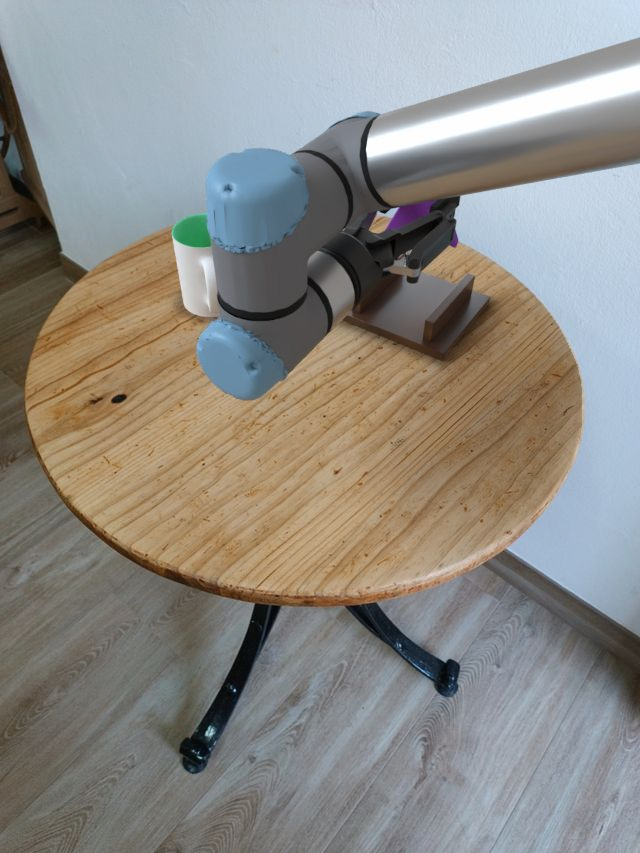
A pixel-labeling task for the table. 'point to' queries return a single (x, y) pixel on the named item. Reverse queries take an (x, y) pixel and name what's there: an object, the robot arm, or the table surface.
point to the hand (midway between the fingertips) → (433, 186)
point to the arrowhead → (413, 216)
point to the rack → (421, 312)
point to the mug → (196, 265)
